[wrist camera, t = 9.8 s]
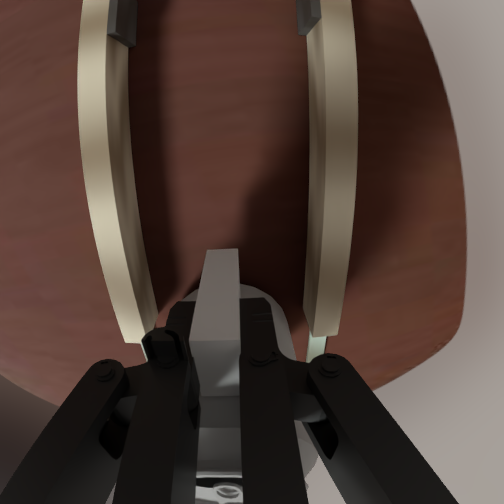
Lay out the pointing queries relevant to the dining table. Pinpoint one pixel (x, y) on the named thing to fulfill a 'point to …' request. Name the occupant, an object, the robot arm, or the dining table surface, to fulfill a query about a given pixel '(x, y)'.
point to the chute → (122, 174)
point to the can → (236, 428)
